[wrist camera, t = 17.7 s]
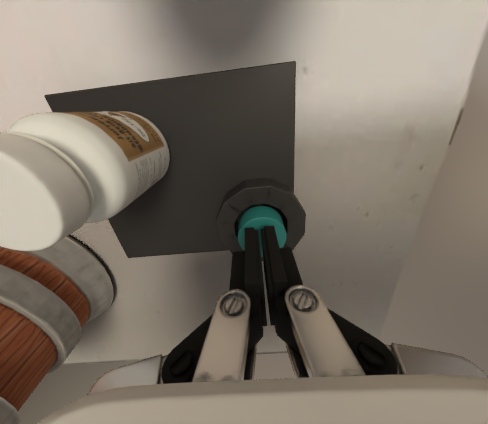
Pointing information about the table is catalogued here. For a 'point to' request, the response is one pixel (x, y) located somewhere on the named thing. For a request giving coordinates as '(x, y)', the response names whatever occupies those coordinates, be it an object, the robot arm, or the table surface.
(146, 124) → the pill bottle
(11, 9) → the table surface
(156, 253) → the scale
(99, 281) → the mug
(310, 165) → the table surface
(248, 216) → the button
